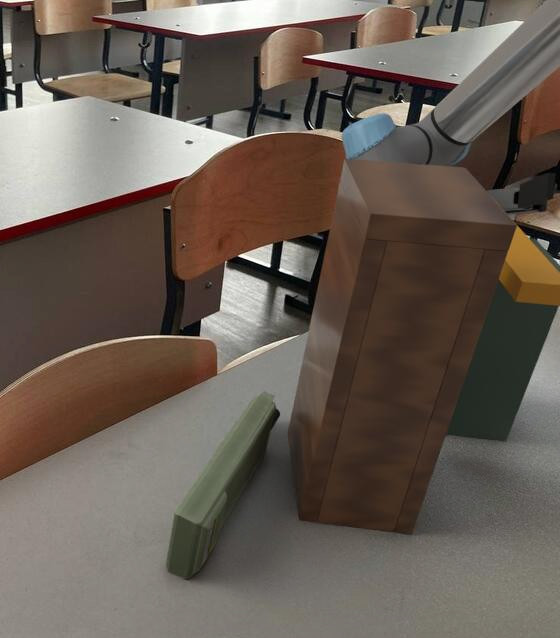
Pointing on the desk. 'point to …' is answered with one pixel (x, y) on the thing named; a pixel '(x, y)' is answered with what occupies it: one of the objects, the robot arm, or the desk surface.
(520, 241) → the orange rectangular bar
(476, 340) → the tall wooden panelled box
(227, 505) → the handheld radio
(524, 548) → the desk surface
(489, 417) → the pedestal
